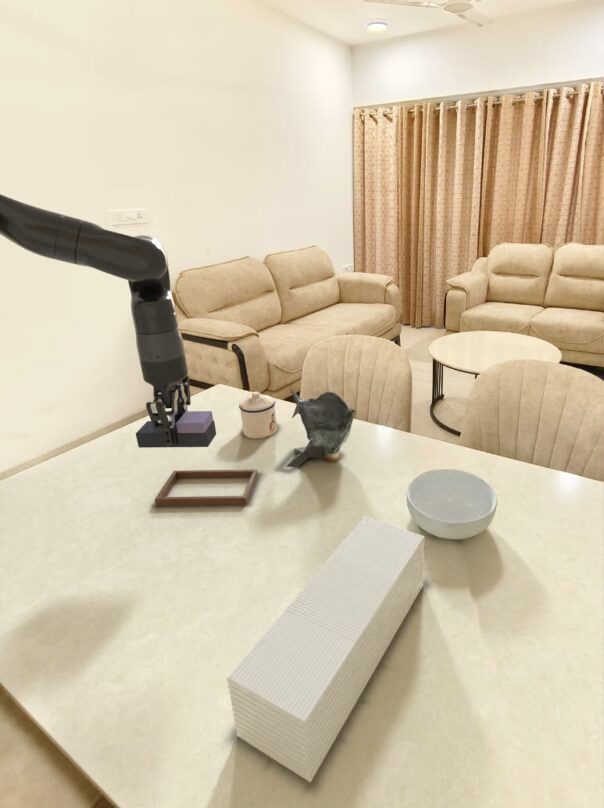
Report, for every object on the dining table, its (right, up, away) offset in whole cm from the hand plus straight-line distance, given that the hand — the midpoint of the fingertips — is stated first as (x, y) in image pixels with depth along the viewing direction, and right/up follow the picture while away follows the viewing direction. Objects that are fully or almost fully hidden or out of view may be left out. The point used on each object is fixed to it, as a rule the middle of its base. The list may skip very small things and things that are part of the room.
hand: (177, 437), depth 94 cm
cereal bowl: (+52, -17, +3) cm, 55 cm away
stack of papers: (+33, -28, -23) cm, 49 cm away
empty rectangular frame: (+2, -14, +13) cm, 19 cm away
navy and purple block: (0, -1, 0) cm, 1 cm away
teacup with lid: (+7, -3, +39) cm, 40 cm away
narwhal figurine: (+25, -9, +24) cm, 36 cm away
